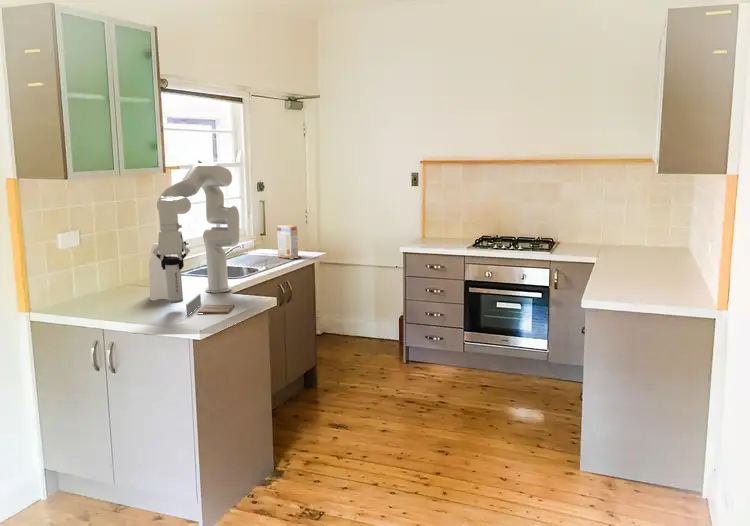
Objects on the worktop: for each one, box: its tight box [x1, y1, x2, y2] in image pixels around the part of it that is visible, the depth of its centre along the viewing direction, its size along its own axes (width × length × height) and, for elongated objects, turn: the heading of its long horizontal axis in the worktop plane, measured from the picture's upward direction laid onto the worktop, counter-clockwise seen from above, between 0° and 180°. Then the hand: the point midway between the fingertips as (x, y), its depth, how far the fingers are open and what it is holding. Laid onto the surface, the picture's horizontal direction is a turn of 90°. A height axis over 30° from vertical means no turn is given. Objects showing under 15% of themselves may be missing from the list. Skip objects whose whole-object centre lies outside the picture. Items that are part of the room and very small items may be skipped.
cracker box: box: [276, 224, 299, 259], centre depth 427 cm, size 14×6×21 cm, turn 44°
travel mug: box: [164, 255, 184, 304], centre depth 291 cm, size 6×7×20 cm
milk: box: [148, 242, 174, 301], centre depth 319 cm, size 12×12×26 cm
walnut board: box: [197, 303, 235, 315], centre depth 293 cm, size 13×13×1 cm
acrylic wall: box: [185, 293, 202, 316], centre depth 293 cm, size 20×1×5 cm, turn 0°
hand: (172, 268), depth 290 cm, fingers closed on travel mug, 6 cm apart
